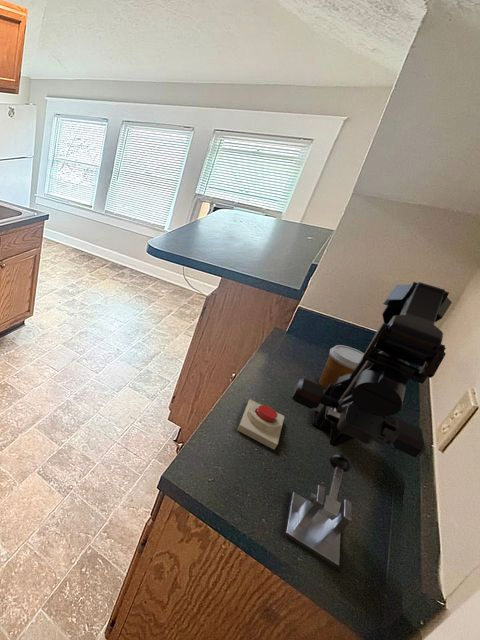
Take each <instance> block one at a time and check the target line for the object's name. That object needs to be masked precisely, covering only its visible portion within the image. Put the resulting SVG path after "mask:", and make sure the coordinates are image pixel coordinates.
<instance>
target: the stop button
mask: <svg viewBox="0 0 480 640" xmlns="http://www.w3.org/2000/svg"><path fill="white" fill-rule="evenodd" d="M260 405H261V406H259V407H258V409H257V411H256V414H257V416H258V417H260V418H261V419H262V420H264V421H266V422H270V423H272V422H274V421H275V419H276V418H277V413H278V412H277V413H276V410H275V409H274V408H272V407H270V406H268V405H264V404H260Z"/></svg>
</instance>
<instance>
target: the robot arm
mask: <svg viewBox="0 0 480 640" xmlns="http://www.w3.org/2000/svg"><path fill="white" fill-rule="evenodd" d="M449 294H450V292H449V291H446V289H444V288H441V287H437V286H434V285H431V284H428V283H424V282H421V281H418V282H416V281H413V282H412V283H411V284H396V285H395V286H393V288H392V289H391V291H389V294H388V295H387V297H386V298H385V299H384V301H383V305H385V306H384V308H383V312H382V314H381V315H382V320H383V323H382V324H380V326H379V328H378V330H377V331H376V332H375V334H374V336H373V338H372V340H371V341H370V343H369V345H368V346H367V348H366V350H365V351H364V352H363V353H364V355H363V357H362V359H361V360H360V362H359V363H358V365H357V366H356V368H355V369H354V371H353V372H352V373H351V374H347V375H344V376H341V377H339V378H338V379H337V381H336V382H335V384H332V383H330V385H329V386H328V387H327V388H326V389H325V388H324V387H323V386H321V385H320V383H319V384H318V383H316V382H314V381H311V380H309V379H307V378H305V377H304V378H300V379H298V380H297V382H296V384H295V385H294V389H293V393H292V395H291V399H292V401H294V402H295V403H297V404H298V405H301V406H304V407H305V408H308V409H318V408H319V406H320V405H323V406H322V407H321V409H320V410H319V411H318V410H314V411H313V415H312V416H313V417H312V426H313V427H315V428H317V429H320V430H321V431H324V432H326V433H327V434H329V435H330V436H329V445H330V446H332V447H333V448H334V447H338V446H340V445H342V444H344V443H347V442H349V441H351V440H354V439H356V440H358V441H359V442H360V443H363V444H365V445H371V444H372V443H373V442H376V443H378V444H380V445H382V446H384V445H385V444H386V445H388V446H390V445H391V444H392V445H393V447H394V449H396V450H398V451H400V452H402V453H404V454H406V455H409V456H411V457H412V458H415V459H419V458H420V457H421V456H422V455H423V454H425V452H426V449H427V441H426V435H425V433H424V430H423V429H422V428H420V427H418V426H417V425H413V424H412V423H408V422H406V421H404V420H402V419H399V418H393V419H392V420H391V422H390V420H388V419H386V417H391V416H394V415H396V414H398V413H400V412H401V410H402V408H403V403H404V398H405V394H406V387H407V386H406V385H407V382H409V380H412V381H415V382H417V383H418V384H419V383H420V384H422V385H423V384H424V383H425V381H426V380H427V378H429V379H432V378H433V377H434V376H435V375H436V373H437V371H438V369H439V367H440V365H441V363H442V362H443V360H444V358H445V356H446V354H447V353H446V352H445V350H446V345H445V344H443V339H444V333H443V331H442V330H441V329H439V328H438V327H437V326H436V325H435V323H437V322H438V321H440V320H442V319H443V318H444V316H445V314H446V313H447V312H448V310H449V308H450V306H451V305H452V304H453V302H452V300H451V299H450V298H449V297H448V296H449ZM409 363H410V364H412V365H414V366H412V365H410V364H409ZM415 366H417V367H419V368H422V367H423V368H422V370H421V369H419V368H417V367H415Z"/></svg>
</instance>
